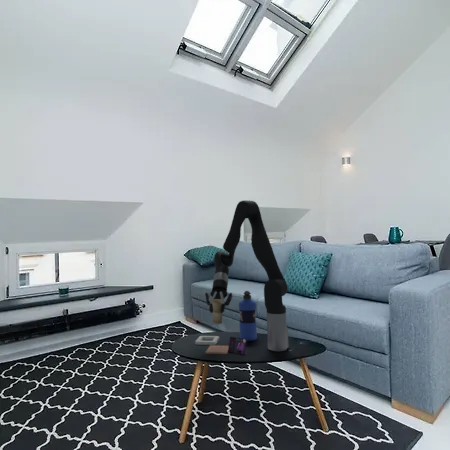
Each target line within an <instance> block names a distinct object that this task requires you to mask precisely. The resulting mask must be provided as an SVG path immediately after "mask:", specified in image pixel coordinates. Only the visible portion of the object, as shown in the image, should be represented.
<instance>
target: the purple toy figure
mask: <svg viewBox="0 0 450 450" xmlns="http://www.w3.org/2000/svg"><path fill="white" fill-rule="evenodd" d="M229 337H230V338H229V342H228V346H229V348H228V353H234V354H241V355H245V354H246V348H247V342H248V341H247V339H242V338H240V337H234V336H229ZM237 342H238V344H237V346H236V343H237ZM236 347H237V348H236ZM235 349H236V350H238V352H237V351H235ZM239 351H241V352H239Z"/></svg>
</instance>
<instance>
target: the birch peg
mask: <svg viewBox="0 0 450 450" xmlns="http://www.w3.org/2000/svg"><path fill="white" fill-rule="evenodd" d="M221 305H222V299H213V300H212V308H213V312H212V324H214V325H220V324H223V313H221Z"/></svg>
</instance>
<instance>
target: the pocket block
mask: <svg viewBox="0 0 450 450" xmlns="http://www.w3.org/2000/svg"><path fill="white" fill-rule="evenodd" d="M219 340H220V336H219V335H218V336H217V335H200V336H199V337H198V338H197V339H195V341H194V344H195V345H197V346H198V345H199V346H200V345H201V346H202V345H204V346H210V345H217V343H218V342H219Z"/></svg>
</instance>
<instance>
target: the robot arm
mask: <svg viewBox="0 0 450 450" xmlns="http://www.w3.org/2000/svg"><path fill="white" fill-rule="evenodd" d="M246 219H248V222H249V224H250V227H251V238H250V239H251V241H250V242H251V247H252V251H253V253H254V255H255V257H256V259H257V261H258V263H259V264H260V265H261V267H262V268H263V270H265V273H266V276H267V278H268V279H267V281H266V282H265V283H264V286H263V297H264V298H263V299H264V306H265V309H266V332H267V334H266V336H267V349H268V350H270V351H272V352H284V351H287V349H288V348H289V328H288V326H287V307H286V305H284V303H283V297H284V296H285V295H286V294H287V293H288V284H287V282H286V279H285V278H284V275H283V273H282V271H281V270H280V269H281V268H280V267H279V265H278V262H277V261H278V260H277V259H276V256H275V252H274V251H273V247H272V245H271V242H270V239H269V237H268V236H269V235H267V231H266V228H265V225H264V222H263V221H264V220H263V218H262V213H261V210H260V207H259V204H258V203H257V202H256V201H254V200H240V201H238V203H237V204H236V207H235V210H234V214H233V217H232V221H231V226H230V227H229V231H228V233H227V236H226V238H225V240H224V242H223V245H222V248H223V250H224V251H226V252H224V251H220V250H219V251H216V252H215V253H214V257H213V260H214V266H215V267H214V268H215V273H214V277H213V281H212V287H211V292H209V293H208V292H205V301H206V304H207V306H209V307H208V310H209V312H210V314H213V308H212V300H213V299H222V305H221V313H222V314H223V313H224V312H225V309H226V306H229V305H230V303H231V301H232V299H233V294H232V292H230V293H228V287H229V286H228V284H229V273H230V269H229V268H230V267H231V266H232V265H233V263H234V256H235V252H236V250H237V247H238V246H239V242H240V240H241V233H242V232H241V231H242V226H243V224H244V222H245V220H246ZM226 297H227V299H226ZM210 298H211V300H210ZM225 299H226V300H225Z"/></svg>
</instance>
